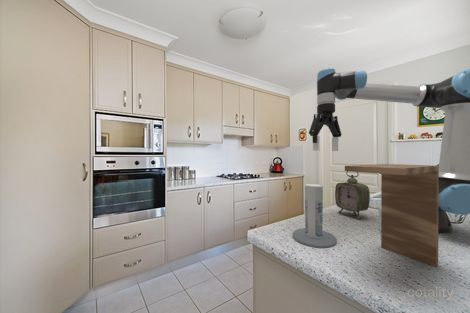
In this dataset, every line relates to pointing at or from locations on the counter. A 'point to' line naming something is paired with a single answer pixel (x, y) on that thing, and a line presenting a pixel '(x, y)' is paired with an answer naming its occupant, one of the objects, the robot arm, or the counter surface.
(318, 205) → the spray can
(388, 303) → the counter surface
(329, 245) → the rubber mat
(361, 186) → the tabletop clock
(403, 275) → the counter surface
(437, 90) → the robot arm
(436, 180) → the walnut shelf
